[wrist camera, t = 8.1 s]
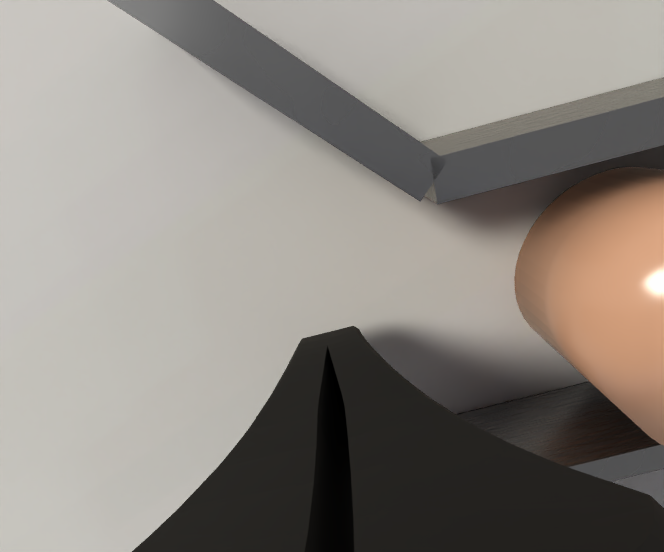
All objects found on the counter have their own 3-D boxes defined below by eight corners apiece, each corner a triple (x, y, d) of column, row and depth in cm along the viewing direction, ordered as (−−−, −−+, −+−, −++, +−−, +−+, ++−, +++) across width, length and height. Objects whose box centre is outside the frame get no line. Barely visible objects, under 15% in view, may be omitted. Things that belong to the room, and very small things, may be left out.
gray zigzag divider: (727, 465, 14) (815, 536, 11) (343, 557, 14) (351, 645, 12) (823, -194, 8) (1050, -329, 5) (143, -4, 8) (78, -54, 6)
